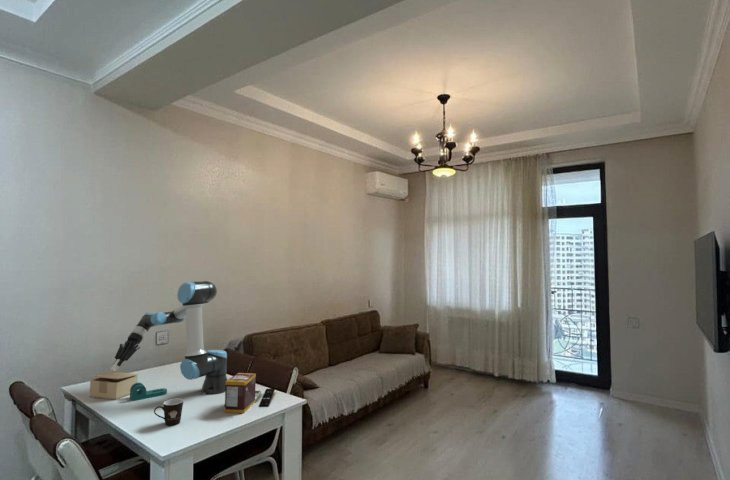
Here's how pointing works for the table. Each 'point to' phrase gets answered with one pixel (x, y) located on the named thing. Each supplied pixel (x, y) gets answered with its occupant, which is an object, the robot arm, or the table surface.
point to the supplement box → (240, 392)
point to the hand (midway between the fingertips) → (112, 370)
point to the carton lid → (114, 375)
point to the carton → (111, 387)
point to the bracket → (144, 392)
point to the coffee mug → (171, 411)
